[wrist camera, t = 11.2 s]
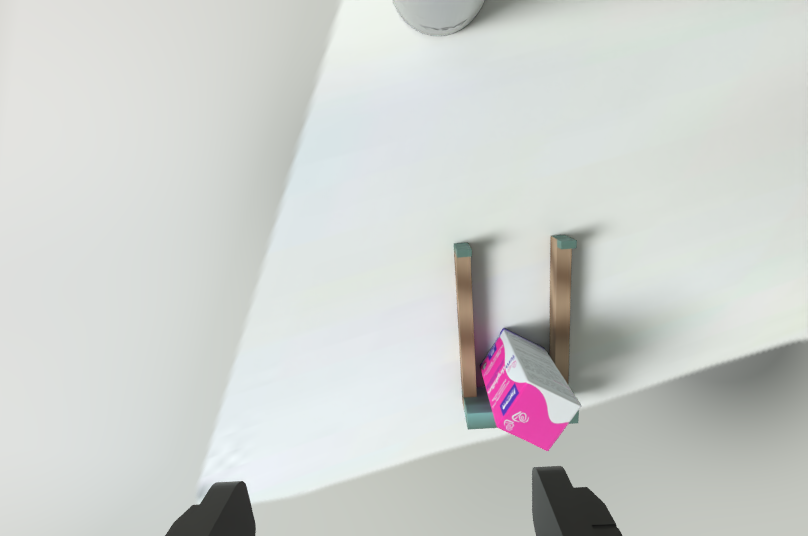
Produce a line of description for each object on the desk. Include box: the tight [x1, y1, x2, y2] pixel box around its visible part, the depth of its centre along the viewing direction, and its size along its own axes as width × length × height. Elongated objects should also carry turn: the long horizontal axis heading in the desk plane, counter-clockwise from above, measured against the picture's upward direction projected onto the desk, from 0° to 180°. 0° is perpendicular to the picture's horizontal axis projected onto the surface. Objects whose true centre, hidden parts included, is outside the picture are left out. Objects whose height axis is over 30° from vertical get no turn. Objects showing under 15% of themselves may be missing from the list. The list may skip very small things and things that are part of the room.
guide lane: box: [454, 235, 579, 429], centre depth 42 cm, size 20×12×5 cm, turn 5°
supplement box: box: [480, 328, 581, 451], centre depth 40 cm, size 6×6×12 cm
